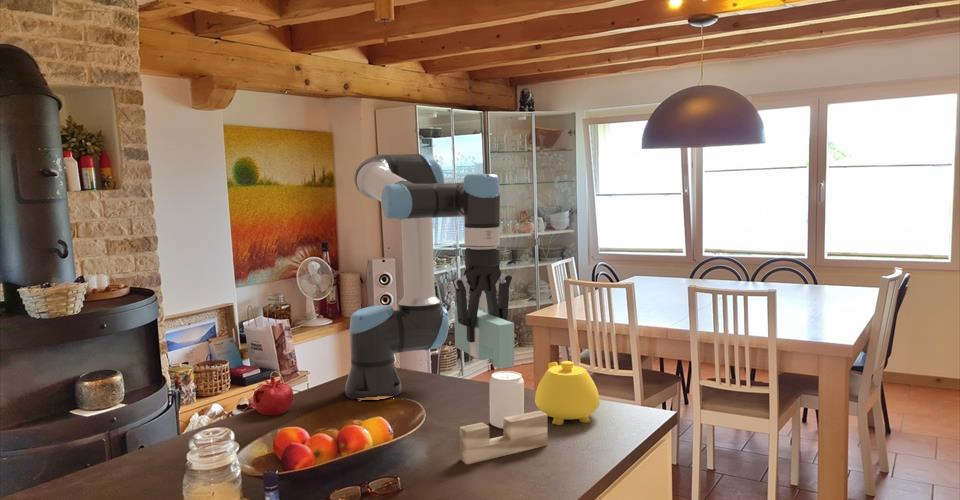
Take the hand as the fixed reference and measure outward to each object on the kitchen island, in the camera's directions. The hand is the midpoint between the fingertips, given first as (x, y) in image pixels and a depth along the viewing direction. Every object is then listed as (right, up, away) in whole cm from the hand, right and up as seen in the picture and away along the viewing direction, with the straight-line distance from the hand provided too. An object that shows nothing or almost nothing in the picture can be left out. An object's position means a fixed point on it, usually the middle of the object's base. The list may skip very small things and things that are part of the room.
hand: (483, 354), depth 150 cm
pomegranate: (-53, -19, +27) cm, 62 cm away
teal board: (0, 0, 0) cm, 0 cm away
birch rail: (+5, -21, -1) cm, 21 cm away
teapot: (+20, -18, +22) cm, 35 cm away
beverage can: (+6, -19, +16) cm, 25 cm away
